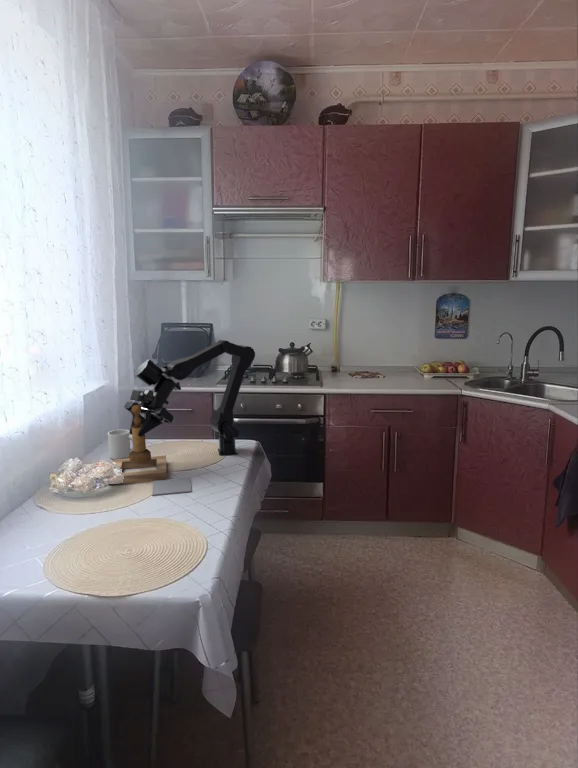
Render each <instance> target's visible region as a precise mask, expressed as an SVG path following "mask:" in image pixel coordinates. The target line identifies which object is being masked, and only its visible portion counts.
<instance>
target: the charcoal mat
mask: <svg viewBox="0 0 578 768" xmlns="http://www.w3.org/2000/svg"><path fill="white" fill-rule="evenodd" d="M151 493H152V494H151V495H152V497H155V496H156V497H157V496H166V495H174V494H185V493H186V494H187V493H192V485H191V478H190V477H183V478H172V479H167V480H159V481H152V492H151Z"/></svg>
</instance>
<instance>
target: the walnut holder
mask: <svg viewBox="0 0 578 768" xmlns="http://www.w3.org/2000/svg"><path fill="white" fill-rule="evenodd" d="M113 462H115V463H116V464H117V465H118V467H119V468H120V469H122V471H124V470H127V469H141V468H148V467H149V468H150V466H152V467H155V468H156V469H151V470H150V469H149V470H140V471H130V472H129V471H128V472H122V473H123V475H124V479H123V484H122V485H124V484H127V485H128V484H137V483H138V484H139V483H146V482H147V483H149V482H153V481H159V480H168V479H167V478H168V477H167V476H168V475H167V474H168V473H167V472H168V471H167V455H166V454H165V455H164V454H163V455H155V456H153V455H151V460H149V461H147V462H143V463H132V462H130V458H129V457H128V458H126V459H116V460H114V459H112V463H113Z"/></svg>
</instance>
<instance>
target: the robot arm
mask: <svg viewBox="0 0 578 768" xmlns="http://www.w3.org/2000/svg"><path fill="white" fill-rule="evenodd" d="M223 354H227V355H230V356H231V371H230V374H229V378H228V380H227V384H226V386H225V391H224V393H223V397H222V400H221V403H220V406H219V407H218V408H217V409H212V413H211V416H210V418H209V421H210V422H209V423H210V424H209V426H210V427H211V429H212V430H213V431H214V432H215V434H216V435H218V441H219V448H217V452H218V455H219V456H225V455H227V456H228V455H236V454H237V455H238V453H239V452H238V450H237V447H236V438H239V435H240V431H239V430H238V429H237V428H236V427H235V426H234V421H235V418H234V417H235V416H234V410H235V409H234V408H235V406H236V405H235V404H236V402H237V399H238V397H239V393H240V390H241V386H242V383H243V380H244V377H245V374H246V372H247V370H248V369H249V368H250V367H251V366H252V365H253V362H254V360H255V358H256V352H255V349H254V348H253V347H251V346H249V345H248V346H247V345H244V344H235V343H232V342H230V341H229V340H226V339H219V340H218V341H217V342H215V343H213V344H211V345H210V346H207V347H205V348H203V349H202V350H200V351H198V352H196V353H194V354H192V355H190V356H187V357H181V358H179V359H175V360H172V361H170V362H169V363H168V364H166V365H163V366H161V367H159V366H157V364H155V363H154V362H153V360H151V359H146V361H144V362H142V363H141V364H140V365H139V366H138V367H137V369H136V370H135V372H134V376H135V377H136V378H138V379H139V380H141V382H143V383H144V384H146V385H147V386H148V387H150V386H154V387H153V388H152V390H149V389H145V391H142V390H141V391H140V390H136V389H132V391H131V395H130V398H129V400H130V401H126V403H125V404H124V406H123V407H124V409H125V410H126V411H128V413H130V414H131V415H132V419H131V424H130V428H129V435H132V426H133V425H135V423H134V418H135V415H134V414H133V412H132V406H133V405H136V404H138V405H140V406H141V408H142V410H141V413H140V415H139V417H140V418H141V423H140V424H141V425H142V427H141V429H140V431H139V433H138V436H140V437H141V436H142V435H144V434H145V435H146V434H147V433H148V432H150V431H152V430H153V429H155V428H156V427H159V426H160V425H163V419H164V423H165V424H167V425H172V423H173V422H174V420H175V415H174V414H173V413H172V412H171V411H169V409H167V408H166V407H164V406H165V405H166V406H167V405H168V404H169V401H168V400H169V397H170V396H171V394H172V393H173V391H181V390H182V388H181V385H180V382H179V381H182V380H185V379H187V378H188V377H189V376H190V375H192V374H193V372H194V371H195V370H196V369H197V368H199V367H201V366H202V365H204V364H206V363H208V362H210V361H211V360H213V359H215V358H217V357H220V356H221V355H223ZM173 379H175V380H178V381H176V382H175V380H173Z"/></svg>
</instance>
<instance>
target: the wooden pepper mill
mask: <svg viewBox="0 0 578 768" xmlns="http://www.w3.org/2000/svg"><path fill="white" fill-rule="evenodd" d="M138 404H139V403H138ZM138 404H136V405H133V406H132V412H133V414H134V415H135V418H134V423H135V425H133V426H132V434H131V435H132V439H133V443H132V447H133V451H132V452H131V453H130V454H129V457H128V458H130V462H132V463H143V462H147V461H149V460H151V457H152V453H151V450H149V449H147V447H146V446H147V444H146V434H144V435H142V436H141V437H140V436H138V433H139V431H140V429H141V427H142V425H141V424H140V423H141V418H140V417H139V415H140V413H141V410H142V408H141V407H142V405H140V404H139V405H138Z"/></svg>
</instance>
